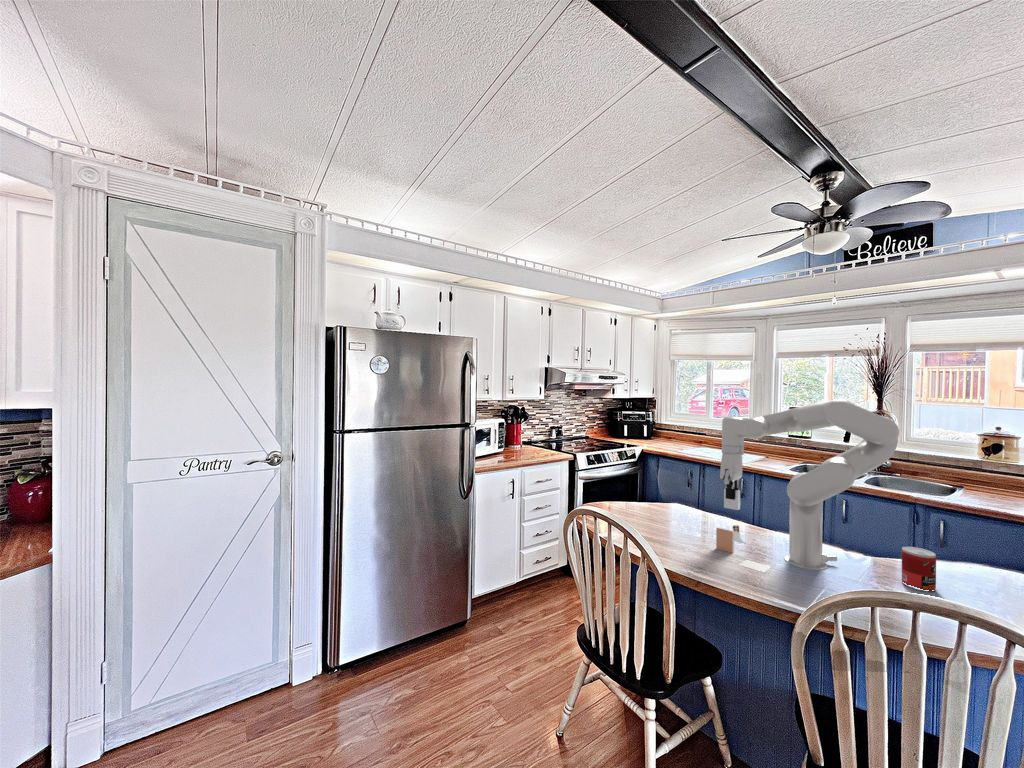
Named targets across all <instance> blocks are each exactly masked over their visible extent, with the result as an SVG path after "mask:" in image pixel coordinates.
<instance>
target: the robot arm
mask: <svg viewBox="0 0 1024 768" xmlns="http://www.w3.org/2000/svg"><path fill="white" fill-rule="evenodd" d="M830 427H837V428H839V429H840V430H841V429H842V430H844V431H845V432H848V433H850V434H852V435H854V436H856V437H859V438H861V439H862V440H861V441H860V442H859V443H858V444H856V445H854V446H852V447H851V448H849V449H847V450H845V451H844V452H841V453H839V454H837V455H835V456H833V457H830V458H828V459H825V460H824V461H823V462H822V463H821V465H819V466H817V467H815V468H813V469H812V470H809V471H807V472H799V473H797V474H795V475H794V476H792V477H791V479H790V481H789V482H788V484H787V486H786V493H787V496H788V498H789V540H788V541H789V542H788V543H789V544H788V545H789V547H788V548H789V553H788V554H787V555H785V556H784V557H783V558H784V559H783V560H784V561H785V562H786V563H788V564H789V565H791V566H794V567H797V568H800V569H805V570H811V571H825V570H827V569H828V567H829V566H828V562H837V561H838V557H837V555H834V554H833V555H832V554H831V555H829V554H828V553H826V552H825V553H824V552H823V521H824V520H823V519H824V518H823V517H824V516H823V515H824V513H823V512H824V510H823V509H824V507H823V506H824V501H826V500H828V499H831V498H833V497H834V496H837V495H838V494H841V493H843V492H845V491H846V490H848V489H849V488H852V486H853V485H854V483H855V480H856V479H858V478H859V477H862V476H863V475H866V474H867V473H869V472H871V471H873V470H875V469H877V468H879V467H880V466H882V465H884V464H885V463H886V462H887V461H889V460H890V459H891V457H892V456H893V455H894V453H895V451H896V449H897V446H898V440H899V435H900V428H899V426H898V424H897V423H896V422H895V421H894V420H893V419H892V418H889V417H888V416H884V415H880V414H877V413H875V412H873V411H870V410H868V409H866V408H863V407H860V406H859V405H856V404H854V403H852V402H851V401H850V400H848V399H844V398H836V399H831V400H826V401H821V402H817V403H812V404H807V405H802V406H795V407H794V408H790V409H787V410H783V411H779V412H776V413H775V412H774V413H771V414H764V415H761V416H755V417H752V418H751V417H750V418H742V417H739V416H725V417H723V418H722V422H721V454H722V455H721V460H720V469H719V470H720V471H719V478H720V479H721V480H723V483H724V484H725V489H726V498H727V499H732V500H735V490H739V482H740V479H741V478H743V456H744V454H745V438H747V439H751V440H752V439H753V440H759V439H762V438H763V437H765V436H766V437H767V436H772V435H776V434H782V433H791V432H794V433H795V432H796V433H801V432H808V431H812V430H813V431H814V430H818V429H824V428H830ZM731 482H732V484H731ZM734 482H735V489H734Z"/></svg>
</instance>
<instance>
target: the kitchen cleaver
mask: <svg viewBox="0 0 1024 768" xmlns="http://www.w3.org/2000/svg"><path fill="white" fill-rule="evenodd" d="M732 529H733V531H734V542H736V543H741V544H745V545H746V542H745V541H744V540H742V538H741V536H740V526H739V525H735V524H734V525H733V526H732Z"/></svg>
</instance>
